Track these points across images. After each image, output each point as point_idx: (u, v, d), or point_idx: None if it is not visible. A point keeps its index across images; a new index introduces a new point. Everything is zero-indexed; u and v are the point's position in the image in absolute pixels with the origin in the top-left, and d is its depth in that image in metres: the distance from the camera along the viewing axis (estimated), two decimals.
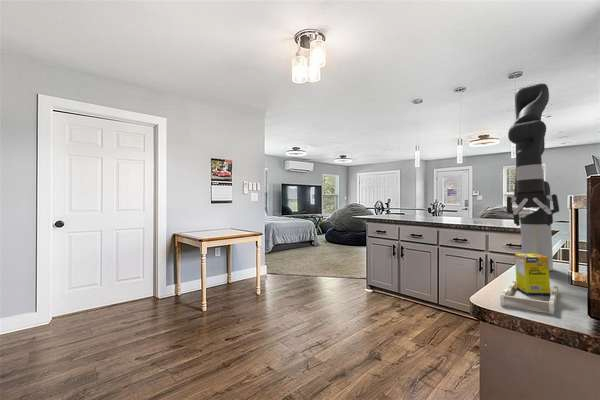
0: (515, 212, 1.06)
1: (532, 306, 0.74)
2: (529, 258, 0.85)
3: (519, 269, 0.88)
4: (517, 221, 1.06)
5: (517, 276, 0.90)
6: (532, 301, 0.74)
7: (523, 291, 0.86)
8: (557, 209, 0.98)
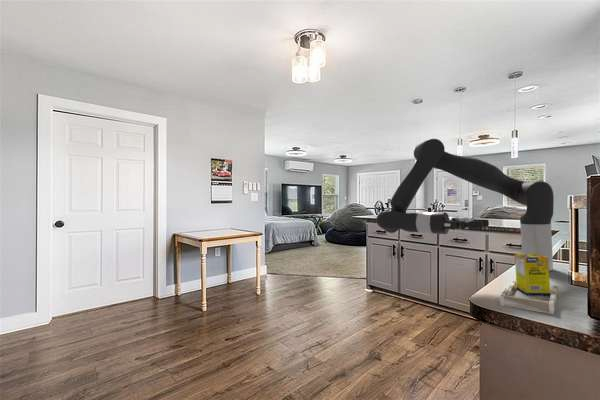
0: None
1: (532, 306, 0.74)
2: (529, 258, 0.85)
3: (519, 269, 0.88)
4: None
5: (517, 276, 0.90)
6: (532, 301, 0.74)
7: (523, 291, 0.86)
8: (461, 229, 0.93)
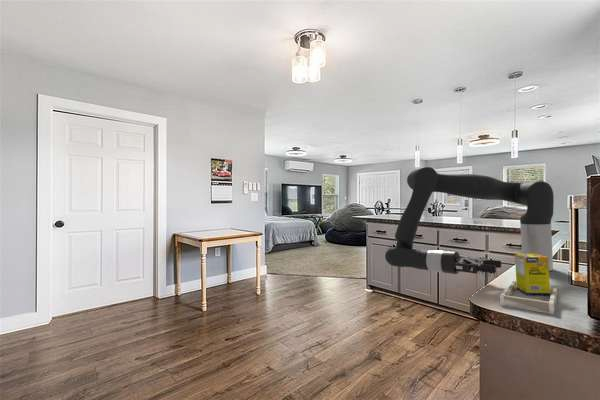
0: None
1: (532, 306, 0.74)
2: (529, 258, 0.85)
3: (519, 269, 0.88)
4: (495, 267, 0.97)
5: (517, 276, 0.90)
6: (532, 301, 0.74)
7: (523, 291, 0.86)
8: (473, 272, 0.91)
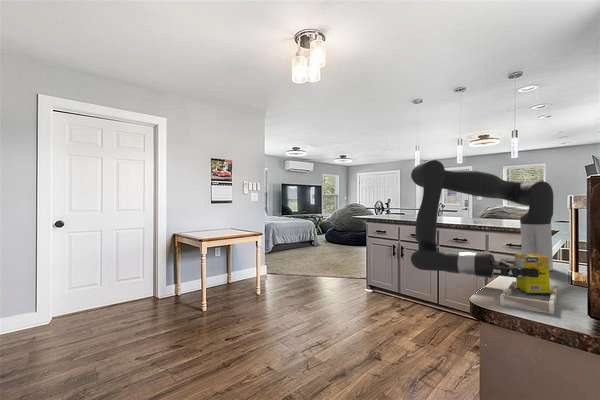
0: None
1: (532, 306, 0.74)
2: (529, 258, 0.85)
3: None
4: None
5: None
6: (532, 301, 0.74)
7: (523, 291, 0.86)
8: None
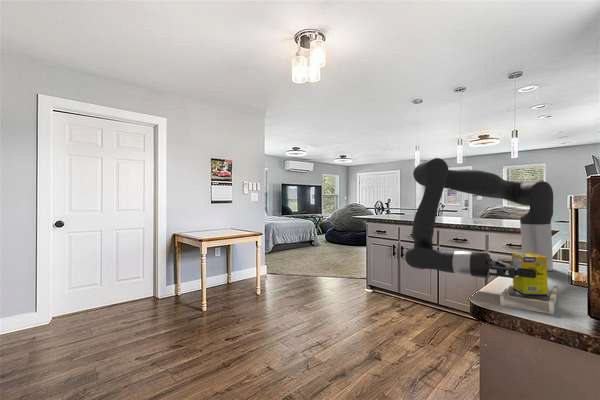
0: None
1: (532, 306, 0.74)
2: (526, 258, 0.81)
3: None
4: None
5: None
6: (532, 301, 0.74)
7: (520, 292, 0.83)
8: (510, 277, 0.81)
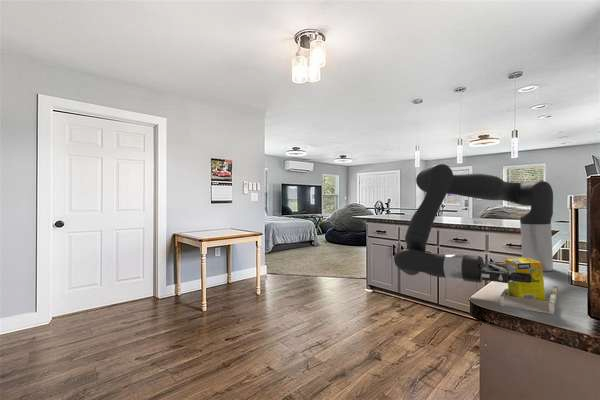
0: None
1: (532, 306, 0.74)
2: (521, 264, 0.76)
3: None
4: None
5: (509, 283, 0.81)
6: (532, 301, 0.74)
7: None
8: None
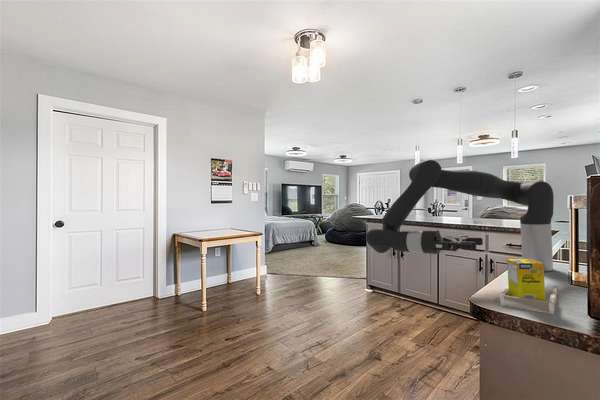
0: None
1: (532, 306, 0.74)
2: (522, 264, 0.76)
3: (511, 276, 0.80)
4: (477, 244, 0.93)
5: (509, 284, 0.81)
6: (532, 301, 0.74)
7: None
8: (453, 250, 0.87)
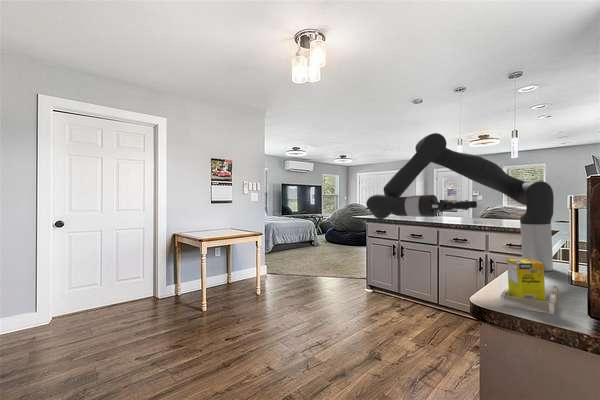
0: None
1: (532, 306, 0.74)
2: (522, 264, 0.76)
3: (511, 276, 0.80)
4: (471, 207, 0.98)
5: (509, 284, 0.81)
6: (532, 301, 0.74)
7: None
8: (448, 209, 0.93)
